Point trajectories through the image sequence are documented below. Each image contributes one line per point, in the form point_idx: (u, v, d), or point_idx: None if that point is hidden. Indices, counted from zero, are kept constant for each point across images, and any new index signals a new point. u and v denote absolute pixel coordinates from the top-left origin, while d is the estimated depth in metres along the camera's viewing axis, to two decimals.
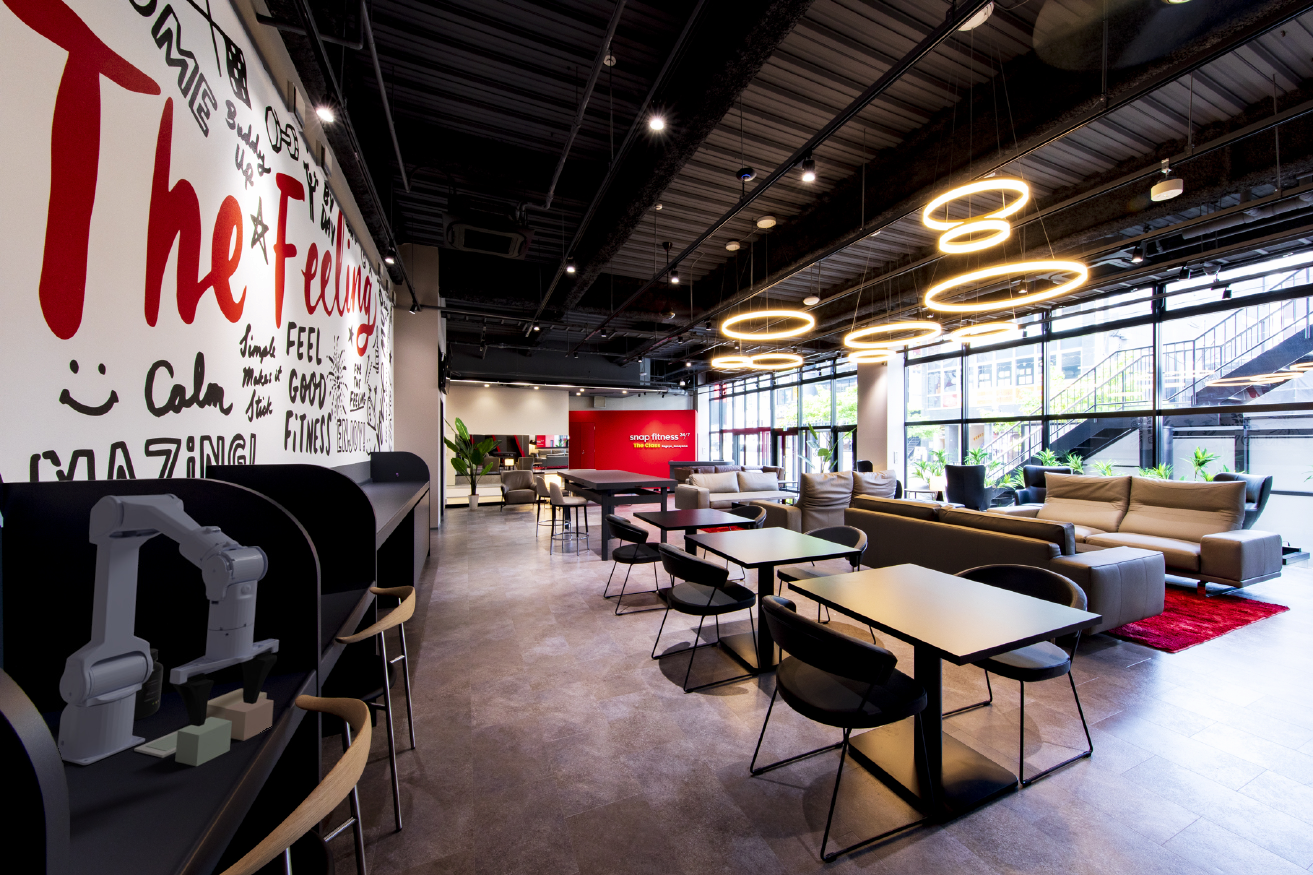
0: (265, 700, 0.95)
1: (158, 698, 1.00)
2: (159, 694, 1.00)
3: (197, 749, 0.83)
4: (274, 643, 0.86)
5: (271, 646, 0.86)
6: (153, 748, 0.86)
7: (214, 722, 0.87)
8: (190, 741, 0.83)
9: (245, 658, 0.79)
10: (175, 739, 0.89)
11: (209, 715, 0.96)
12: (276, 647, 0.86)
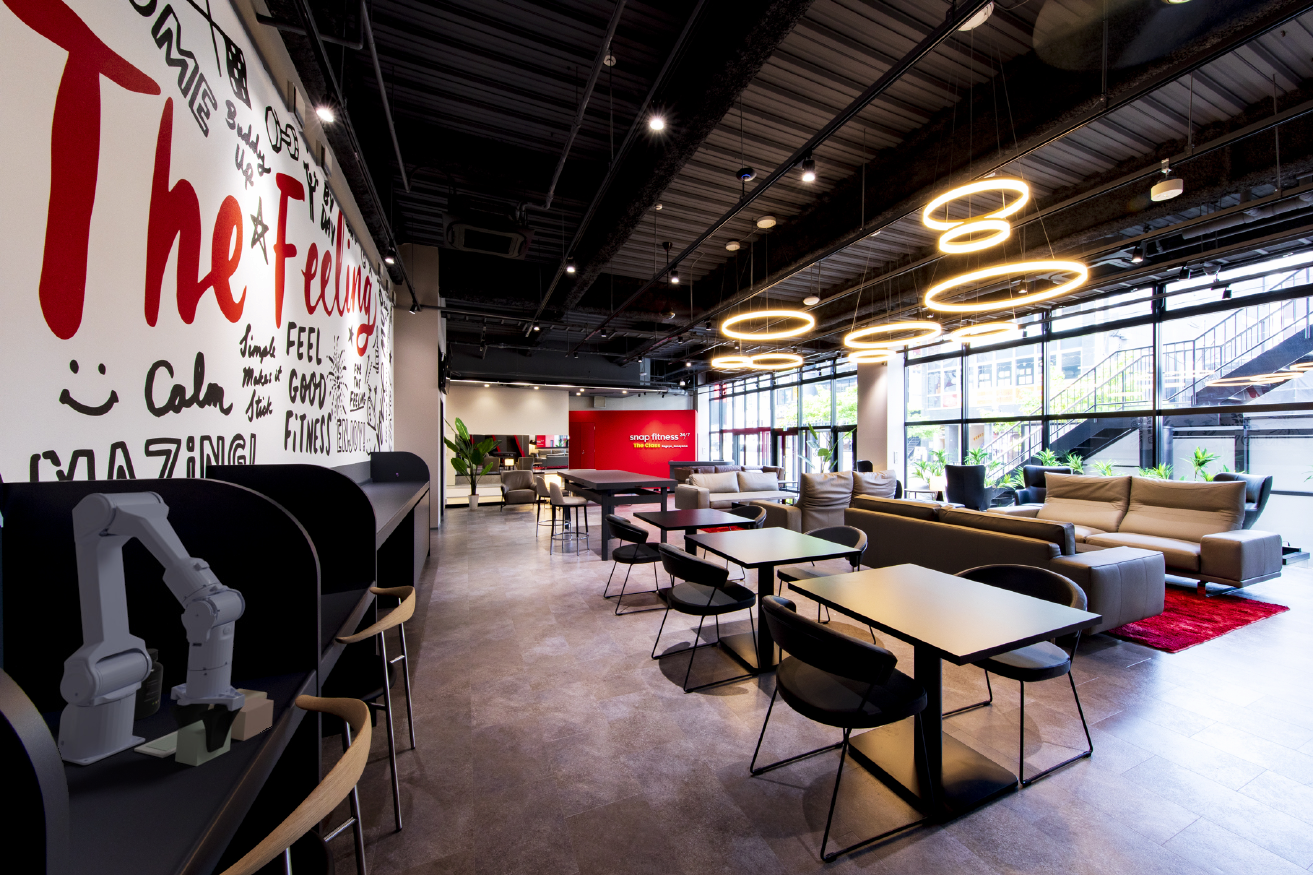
0: (265, 700, 0.95)
1: (158, 698, 1.00)
2: (159, 694, 1.00)
3: (197, 748, 0.83)
4: (228, 700, 0.83)
5: (225, 702, 0.83)
6: (153, 748, 0.86)
7: None
8: (190, 741, 0.83)
9: (179, 701, 0.82)
10: (175, 739, 0.89)
11: None
12: (230, 706, 0.83)
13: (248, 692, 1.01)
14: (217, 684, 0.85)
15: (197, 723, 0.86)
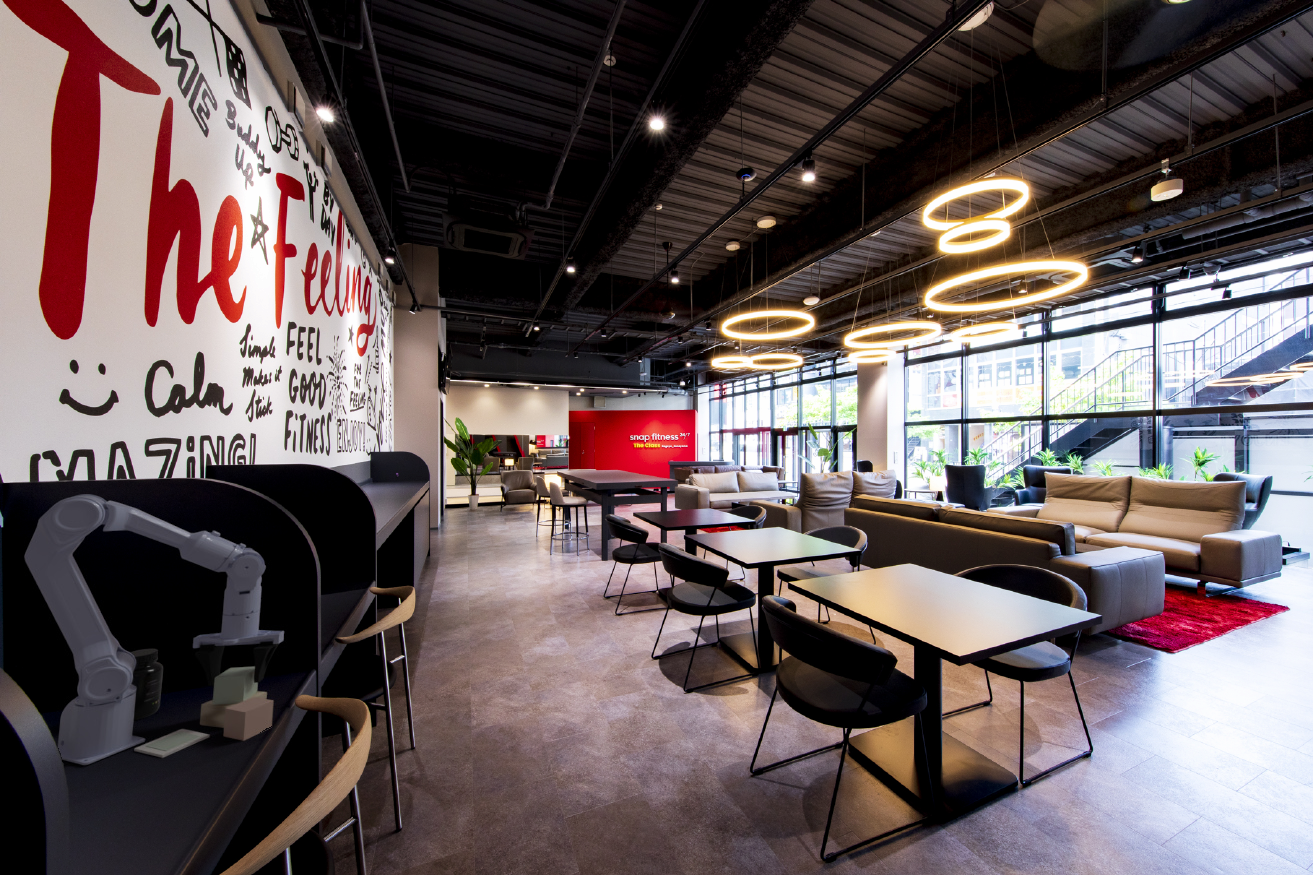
0: (265, 700, 0.95)
1: (158, 698, 1.00)
2: (159, 694, 1.00)
3: (243, 688, 0.97)
4: (274, 636, 1.00)
5: (271, 637, 1.00)
6: (153, 748, 0.86)
7: (242, 669, 1.00)
8: (233, 683, 0.97)
9: (225, 642, 0.96)
10: (175, 739, 0.89)
11: (209, 716, 0.95)
12: (276, 640, 1.00)
13: None
14: (255, 626, 1.00)
15: (227, 672, 0.98)
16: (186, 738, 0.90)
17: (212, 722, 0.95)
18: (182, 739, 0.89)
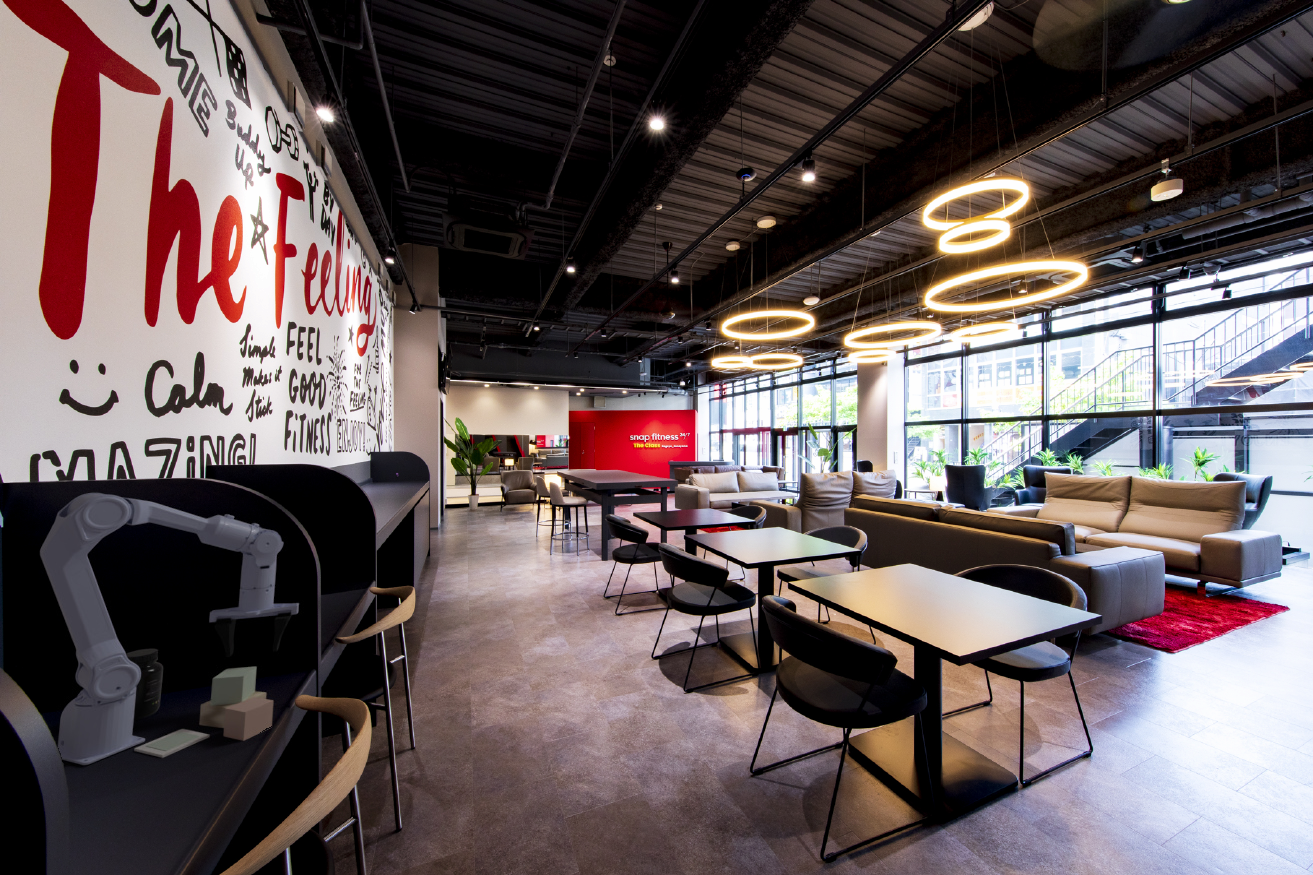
0: (265, 700, 0.95)
1: (158, 698, 1.00)
2: (159, 694, 1.00)
3: (241, 688, 0.97)
4: (292, 607, 1.07)
5: (289, 609, 1.07)
6: (153, 748, 0.86)
7: (240, 669, 1.00)
8: (231, 684, 0.97)
9: (249, 613, 1.02)
10: (175, 739, 0.89)
11: (209, 716, 0.95)
12: (294, 610, 1.08)
13: None
14: (272, 599, 1.06)
15: (224, 673, 0.98)
16: (186, 738, 0.90)
17: (211, 722, 0.95)
18: (182, 739, 0.89)
